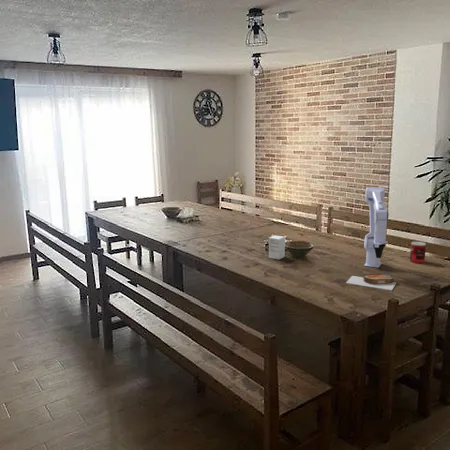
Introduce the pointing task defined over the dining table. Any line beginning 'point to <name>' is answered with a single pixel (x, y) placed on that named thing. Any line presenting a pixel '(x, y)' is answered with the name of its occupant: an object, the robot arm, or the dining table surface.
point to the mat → (361, 282)
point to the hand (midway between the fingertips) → (378, 257)
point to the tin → (378, 278)
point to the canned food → (417, 252)
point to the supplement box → (276, 247)
